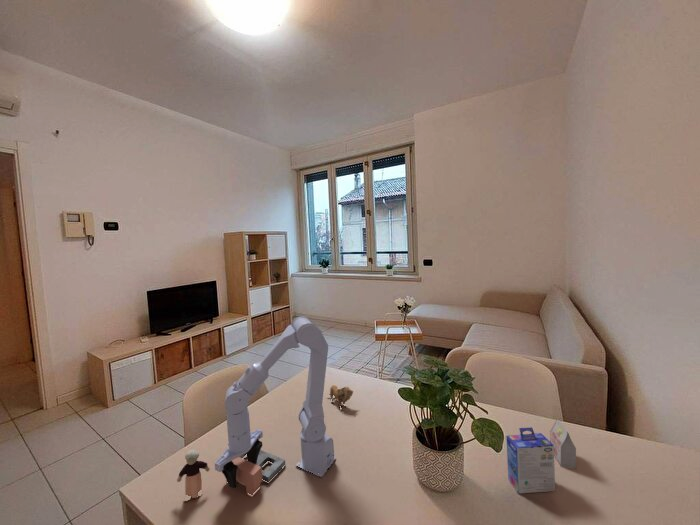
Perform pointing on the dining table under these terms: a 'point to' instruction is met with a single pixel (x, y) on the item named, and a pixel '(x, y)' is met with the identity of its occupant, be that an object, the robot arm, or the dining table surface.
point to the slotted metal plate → (273, 469)
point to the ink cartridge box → (530, 462)
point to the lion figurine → (341, 394)
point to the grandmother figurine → (192, 473)
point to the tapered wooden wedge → (248, 474)
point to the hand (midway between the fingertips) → (242, 477)
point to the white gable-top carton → (563, 446)
